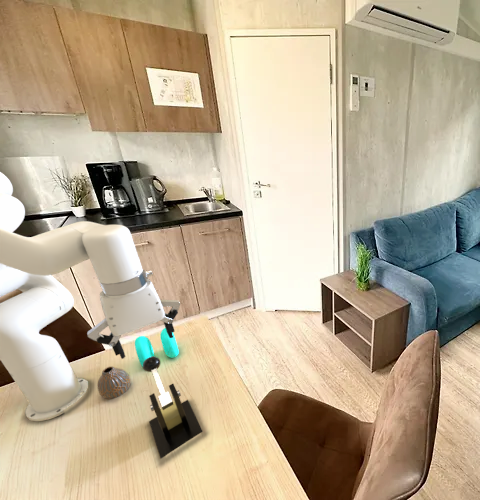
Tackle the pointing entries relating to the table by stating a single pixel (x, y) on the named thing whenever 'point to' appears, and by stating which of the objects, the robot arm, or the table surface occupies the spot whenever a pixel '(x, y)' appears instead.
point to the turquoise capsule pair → (146, 349)
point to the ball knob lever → (158, 381)
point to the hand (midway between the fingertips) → (147, 344)
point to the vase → (113, 382)
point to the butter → (171, 416)
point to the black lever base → (177, 434)
